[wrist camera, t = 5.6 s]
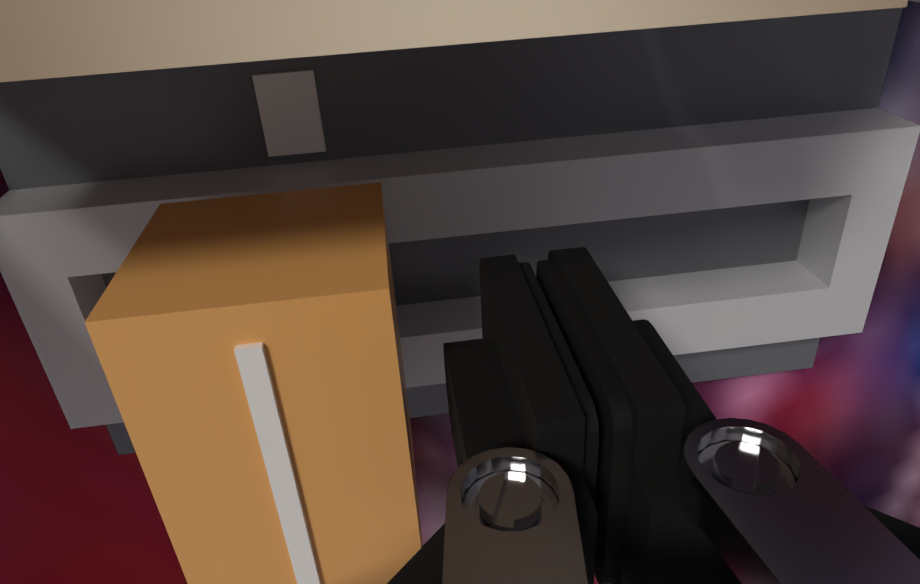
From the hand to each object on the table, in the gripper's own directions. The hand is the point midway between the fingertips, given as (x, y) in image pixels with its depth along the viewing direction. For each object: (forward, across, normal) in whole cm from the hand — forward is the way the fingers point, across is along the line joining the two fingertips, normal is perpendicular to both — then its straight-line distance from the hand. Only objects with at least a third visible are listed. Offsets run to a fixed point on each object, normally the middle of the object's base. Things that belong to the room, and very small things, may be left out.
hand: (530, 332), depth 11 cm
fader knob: (+3, +4, 0) cm, 5 cm away
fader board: (+4, +1, 0) cm, 4 cm away
